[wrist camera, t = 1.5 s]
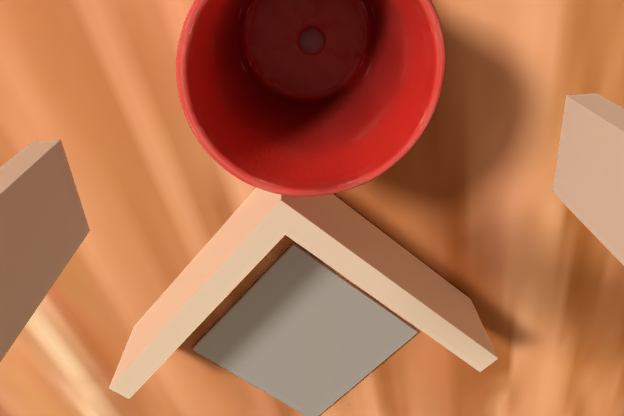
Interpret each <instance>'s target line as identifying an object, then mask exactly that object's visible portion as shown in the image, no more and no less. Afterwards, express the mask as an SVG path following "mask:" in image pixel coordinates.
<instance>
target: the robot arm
mask: <svg viewBox="0 0 624 416" xmlns="http://www.w3.org/2000/svg"><path fill="white" fill-rule="evenodd" d="M553 193H554V194H555V195H556V196H557V197H558V198H559V199H560V200H561V201H562V202H563V203H564V204H565V205H566V206H567V207H568V208H569V209H570V210H571V212H572V213H573V214H574V215H575V216H576V217H577V218H578V219H579V220H580V221H581V222H582V223H583V224H584V225H585V226H586V227H587V228H588V229H589V230H590V231H591V232H592V233H593V234H594V235H595V236H596V237H597V238H598V240H599V241H600V242H601V243H602V244H603V245H604V246H605V247H606V248H607V249H608V250H609V251H610V252H611V253H612V254H613V255H614V256H615V257H616V258H617V259H618V260H619V261H620V262H621V263H622V264H623V265H624V108H622V107H620V106H619V105H617V104H615V103H613V102H611V101H610V100H608V99H606V98H604V97H602V96H601V95H599V94H597V93H592V94H581V95H569V96H566V102H565V109H564V116H563V123H562V130H561V137H560V144H559V151H558V158H557V165H556V171H555V178H554V185H553ZM89 231H90V230H89V227H88V223H87V220H86V217H85V214H84V211H83V208H82V205H81V201H80V198H79V195H78V192H77V189H76V186H75V183H74V180H73V176H72V173H71V170H70V167H69V164H68V161H67V158H66V154H65V151H64V148H63V145H62V142H61V139H60V140H48V141H37V142H31V143H30V144H29V145H27V146H26V147H25V148H24V149H22V150H21V151H20V152H19V153H17V154H16V155H15V156H14V157H13V158H11V159H10V160H9V161H8V162H6V163H5V164H4V165H3V166H1V167H0V362H1V360H2V359H3V357H4V356H5V354H6V353H7V351H8V350H9V349H10V347H11V346H12V344H13V343H14V341H15V340H16V338H17V337H18V335H19V334H20V332H21V331H22V329H23V328H24V326H25V325H26V324H27V322H28V321H29V319H30V318H31V316H32V315H33V313H34V312H35V310H36V309H37V307H38V306H39V304H40V303H41V301H42V300H43V299H44V297H45V296H46V294H47V293H48V291H49V290H50V288H51V287H52V285H53V284H54V282H55V281H56V279H57V278H58V277H59V275H60V274H61V272H62V271H63V269H64V268H65V266H66V265H67V263H68V262H69V260H70V259H71V257H72V256H73V254H74V253H75V252H76V250H77V249H78V247H79V246H80V244H81V243H82V241H83V240H84V238H85V237H86V235H87V234H88V232H89Z"/></svg>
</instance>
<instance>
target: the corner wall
mask: <svg viewBox="0 0 624 416" xmlns="http://www.w3.org/2000/svg"><path fill="white" fill-rule="evenodd" d="M285 235H286V236H288V237H289V238H291V239H292V240H293V241H295V242H296V243H298V244H299V245H300V246H302V247H303V248H305V249H306V250H308V251H309V252H310V253H312V254H313V255H315V256H316V257H317V258H319V259H320V260H322V261H323V262H325V263H326V264H327V265H329V266H330V267H332V268H333V269H335V270H336V271H337V272H339V273H340V274H342V275H343V276H344V277H346V278H347V279H349V280H350V281H352V282H353V283H354V284H356V285H357V286H359V287H360V288H362V289H363V290H364V291H366V292H367V293H369V294H370V295H371V296H373V297H374V298H376V299H377V300H379V301H380V302H381V303H383V304H384V305H386V306H387V307H388V308H390V309H391V310H393V311H394V312H396V313H397V314H398V315H400V316H401V317H403V318H404V319H406V320H407V321H408V322H410V323H411V324H413V325H414V326H415V327H417V328H418V329H420V330H421V331H423V332H424V333H425V334H427V335H428V336H430V337H431V338H432V339H434V340H435V341H437V342H438V343H440V344H441V345H442V346H444V347H445V348H447V349H448V350H450V351H451V352H452V353H454V354H455V355H457V356H458V357H459V358H461V359H462V360H464V361H465V362H467V363H468V364H469V365H471V366H472V367H474V368H475V369H476V370H478V371H479V372H481V371H482V370H483V369H485V368H486V367H487V366H489V365H490V364H491V363H493V362H494V361H495V360H497V359H498V357H497V355H496V353H495V350H494V348H493V346H492V344H491V342H490V340H489V337H488V335H487V333H486V331H485V329H484V327H483V324H482V322H481V320H480V318H479V316H478V314H477V311H476V309H475V307H474V305H473V303H472V301H471V299H470V298H469V297H467V296H466V295H465V294H463V293H462V292H461V291H459V290H458V289H457V288H455V287H454V286H453V285H452V284H450V283H449V282H448V281H446V280H445V279H444V278H442V277H441V276H440V275H438V274H437V273H436V272H434V271H433V270H432V269H431V268H429V267H428V266H427V265H425V264H424V263H423V262H421V261H420V260H419V259H417V258H416V257H415V256H414V255H412V254H411V253H410V252H408V251H407V250H406V249H404V248H403V247H402V246H400V245H399V244H398V243H397V242H395V241H394V240H393V239H391V238H390V237H389V236H387V235H386V234H385V233H383V232H382V231H381V230H379V229H378V228H377V227H376V226H374V225H373V224H372V223H370V222H369V221H368V220H366V219H365V218H364V217H362V216H361V215H360V214H359V213H357V212H356V211H355V210H353V209H352V208H351V207H349V206H348V205H347V204H345V203H344V202H343V201H342V200H340V199H339V198H338V197H336V196H335V195H334V194H329V195H323V196H311V197H303V196H287V195H281V194H276V193H271V192H269V191H265V190H262V189H260V188H257V187H256V188H255V190H254V191H253V192H252V193H251V194H250V195H249V196H248V197H247V199H246V200H245V201H244V202H243V203H242V204H241V205H240V207H239V208H238V209H237V210H236V211H235V212H234V213H233V215H232V216H231V217H230V218H229V219H228V220H227V221H226V222H225V224H224V225H223V226H222V227H221V228H220V229H219V230H218V232H217V233H216V234H215V235H214V236H213V237H212V238H211V239H210V241H209V242H208V243H207V244H206V245H205V246H204V247H203V249H202V250H201V251H200V252H199V253H198V254H197V255H196V256H195V258H194V259H193V260H192V261H191V262H190V263H189V264H188V266H187V267H186V268H185V269H184V270H183V271H182V272H181V273H180V275H179V276H178V277H177V278H176V279H175V280H174V281H173V283H172V284H171V285H170V286H169V287H168V288H167V289H166V290H165V292H164V293H163V294H162V295H161V296H160V297H159V298H158V300H157V301H156V302H155V303H154V304H153V305H152V306H151V308H150V309H149V310H148V311H147V312H146V313H145V314H144V315H143V317H142V318H141V319H140V320H139V321H138V322H137V323H136V325H135V326H134V328H133V330H132V333H131V335H130V338H129V340H128V342H127V345H126V347H125V350H124V352H123V355H122V357H121V360H120V362H119V364H118V367H117V369H116V372H115V374H114V377H113V379H112V382H111V384H110V387H109V389H111V390H113V391H115V392H117V393H119V394H121V395H122V396H124V397H126V398H128V399H130V398H131V397H132V396H133V395H134V393H135V392H136V391H137V390H138V389H139V388H140V387H141V386H142V385H143V384H144V383H145V382H146V381H147V380H148V379H149V378H150V377H151V376H152V375H153V373H154V372H155V371H156V370H157V369H158V368H159V367H160V366H161V365H162V364H163V363H164V362H165V361H166V360H167V359H168V358H169V357H170V356H171V355H172V353H173V352H174V351H175V350H176V349H177V348H178V347H179V346H180V345H181V344H182V343H183V342H184V341H185V340H186V339H187V338H188V337H189V336H190V335H191V333H192V332H193V331H194V330H195V329H196V328H197V327H198V326H199V325H200V324H201V323H202V322H203V321H204V320H205V319H206V318H207V317H208V316H209V315H210V313H211V312H212V311H213V310H214V309H215V308H216V307H217V306H218V305H219V304H220V303H221V302H222V301H223V300H224V299H225V298H226V297H227V296H228V295H229V293H230V292H231V291H232V290H233V289H234V288H235V287H236V286H237V285H238V284H239V283H240V282H241V281H242V280H243V279H244V278H245V277H246V276H247V275H248V273H249V272H250V271H251V270H252V269H253V268H254V267H255V266H256V265H257V264H258V263H259V262H260V261H261V260H262V259H263V258H264V257H265V256H266V255H267V253H268V252H269V251H270V250H271V249H272V248H273V247H274V246H275V245H276V244H277V243H278V242H279V241H280V240H281V239H282V238H283V237H284V236H285Z"/></svg>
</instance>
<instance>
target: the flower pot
mask: <svg viewBox="0 0 624 416" xmlns="http://www.w3.org/2000/svg"><path fill="white" fill-rule="evenodd" d="M445 67H446V48H445V40H444V35H443V31H442V27H441V23H440V20H439V17H438V15H437V12H436V10H435V7H434V5H433V3H432V1H431V0H195V1H194V3H193V5H192V7H191V9H190V11H189V13H188V15H187V17H186V20H185V22H184V25H183V28H182V31H181V35H180V39H179V44H178V50H177V57H176V78H177V87H178V92H179V98H180V102H181V105H182V108H183V111H184V114H185V116H186V119H187V121H188V124H189V126H190V128H191V130H192V132H193V133H194V135H195V136H196V138H197V140H198V141H199V143H200V144H201V145H202V147H203V148H204V149H205V150H206V151H207V152H208V154H209V155H210V156H211V157H212V158H213V159H214V160H215V161H216V162H217V163H218V164H219V165H221V166H222V167H223V168H224V169H225V170H227V171H228V172H229V173H231V174H232V175H234V176H235V177H237V178H238V179H240V180H242V181H244V182H246V183H248V184H250V185H252V186H254V187H257V188H260V189H262V190H265V191H269V192H271V193H276V194H281V195H287V196H303V197H311V196H323V195H329V194H335V193H339V192H342V191H345V190H349V189H352V188H354V187H357V186H360V185H362V184H364V183H366V182H368V181H371V180H372V179H374V178H376V177H378V176H380V175H381V174H383V173H384V172H385V171H387V170H388V169H390V168H391V167H392V166H393V165H395V164H396V163H397V162H398V161H399V160H400V159H401V158H402V157H403V156H404V155H405V154H406V153H407V152H408V151H409V150H410V149H411V148H412V147H413V146H414V145H415V143H416V142H417V141H418V140H419V138H420V137H421V135H422V134H423V132H424V131H425V129H426V127H427V125H428V124H429V122H430V120H431V118H432V116H433V114H434V112H435V109H436V106H437V104H438V101H439V98H440V95H441V91H442V86H443V82H444V76H445Z"/></svg>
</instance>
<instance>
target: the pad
mask: <svg viewBox="0 0 624 416" xmlns="http://www.w3.org/2000/svg"><path fill="white" fill-rule="evenodd" d="M417 333H418V331H417V329H415V328H414V327H412V326H411V325H410V324H408V323H407V322H405V321H404V320H403V319H401V318H400V317H398V316H397V315H395V314H394V313H393V312H391V311H390V310H388V309H387V308H385V307H384V306H383V305H381V304H380V303H378V302H377V301H375V300H374V299H373V298H371V297H370V296H368V295H367V294H366V293H364V292H363V291H361V290H360V289H358V288H357V287H356V286H354V285H353V284H351V283H350V282H348V281H347V280H346V279H344V278H343V277H341V276H340V275H338V274H337V273H336V272H334V271H333V270H331V269H330V268H329V267H327V266H326V265H324V264H323V263H321V262H320V261H319V260H317V259H316V258H314V257H313V256H311V255H310V254H309V253H307V252H306V251H304V250H303V249H301V248H300V247H299V246H297V245H296V244H294V243H293V244H292V245H291V246H290V247H289V248H288V249H287V250H286V251H285V252H284V254H283V255H282V256H281V257H280V258H279V259H278V260H277V261H276V262H275V263H274V264H273V265H272V266H271V267H270V268H269V269H268V270H267V271H266V272H265V273H264V274H263V275H262V276H261V277H260V278H259V279H258V280H257V281H256V283H255V284H254V285H253V286H252V287H251V288H250V289H249V290H248V291H247V292H246V293H245V294H244V295H243V296H242V297H241V298H240V299H239V300H238V301H237V302H236V303H235V304H234V305H233V306H232V307H231V308H230V309H229V310H228V311H227V313H226V314H225V315H224V316H223V317H222V318H221V319H220V320H219V321H218V322H217V323H216V324H215V325H214V326H213V327H212V328H211V329H210V330H209V331H208V332H207V333H206V334H205V335H204V336H203V337H202V338H201V339H200V340H199V342H198V343H197V344H196V345H195V346H194V347H193V349H192V350H193V351H195V352H196V353H198V354H200V355H202V356H203V357H205V358H207V359H208V360H210V361H212V362H214V363H215V364H217V365H219V366H221V367H222V368H224V369H226V370H228V371H229V372H231V373H233V374H235V375H236V376H238V377H240V378H242V379H243V380H245V381H247V382H248V383H250V384H252V385H254V386H255V387H257V388H259V389H261V390H262V391H264V392H266V393H268V394H269V395H271V396H273V397H275V398H276V399H278V400H280V401H282V402H283V403H285V404H287V405H288V406H290V407H292V408H294V409H295V410H297V411H299V412H301V413H302V414H304V415H306V416H319V415H320V414H321V413H323V412H324V411H325V410H326V409H327V408H329V407H330V406H331V405H332V404H333V403H334V402H336V401H337V400H338V399H339V398H340V397H342V396H343V395H344V394H345V393H346V392H348V391H349V390H350V389H351V388H352V387H354V386H355V385H356V384H357V383H358V382H359V381H361V380H362V379H363V378H364V377H365V376H367V375H368V374H369V373H370V372H371V371H373V370H374V369H375V368H376V367H377V366H379V365H380V364H381V363H382V362H383V361H385V360H386V359H387V358H388V357H389V356H390V355H392V354H393V353H394V352H395V351H396V350H398V349H399V348H400V347H401V346H402V345H404V344H405V343H406V342H407V341H408V340H410V339H411V338H412V337H413V336H414V335H415V334H417Z"/></svg>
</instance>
